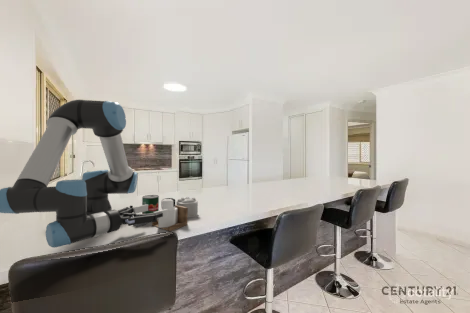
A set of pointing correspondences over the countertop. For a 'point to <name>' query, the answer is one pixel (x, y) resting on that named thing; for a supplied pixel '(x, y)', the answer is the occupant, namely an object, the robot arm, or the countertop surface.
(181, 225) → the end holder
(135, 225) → the clip
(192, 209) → the lumpy-topped squat cylinder
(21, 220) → the countertop surface
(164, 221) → the medicine bottle
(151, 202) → the canned tomato
